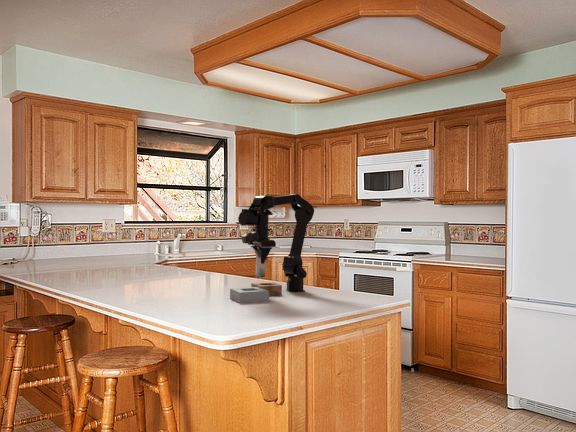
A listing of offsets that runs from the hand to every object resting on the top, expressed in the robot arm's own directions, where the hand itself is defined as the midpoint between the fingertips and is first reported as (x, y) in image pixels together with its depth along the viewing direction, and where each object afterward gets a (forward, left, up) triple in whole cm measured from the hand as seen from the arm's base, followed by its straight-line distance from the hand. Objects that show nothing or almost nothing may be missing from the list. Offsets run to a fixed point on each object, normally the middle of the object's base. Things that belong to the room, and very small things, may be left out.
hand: (260, 263), depth 217 cm
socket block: (+8, +8, -13) cm, 18 cm away
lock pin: (0, 0, -6) cm, 6 cm away
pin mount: (-4, -4, -13) cm, 14 cm away
